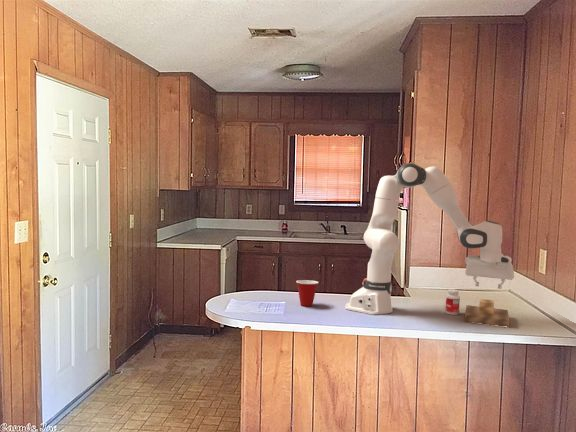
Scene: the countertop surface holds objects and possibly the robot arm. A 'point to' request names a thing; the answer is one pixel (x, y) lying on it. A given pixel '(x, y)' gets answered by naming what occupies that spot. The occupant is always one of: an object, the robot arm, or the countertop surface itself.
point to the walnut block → (487, 316)
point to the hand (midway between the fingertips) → (488, 287)
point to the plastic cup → (306, 292)
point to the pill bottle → (452, 302)
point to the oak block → (486, 306)
